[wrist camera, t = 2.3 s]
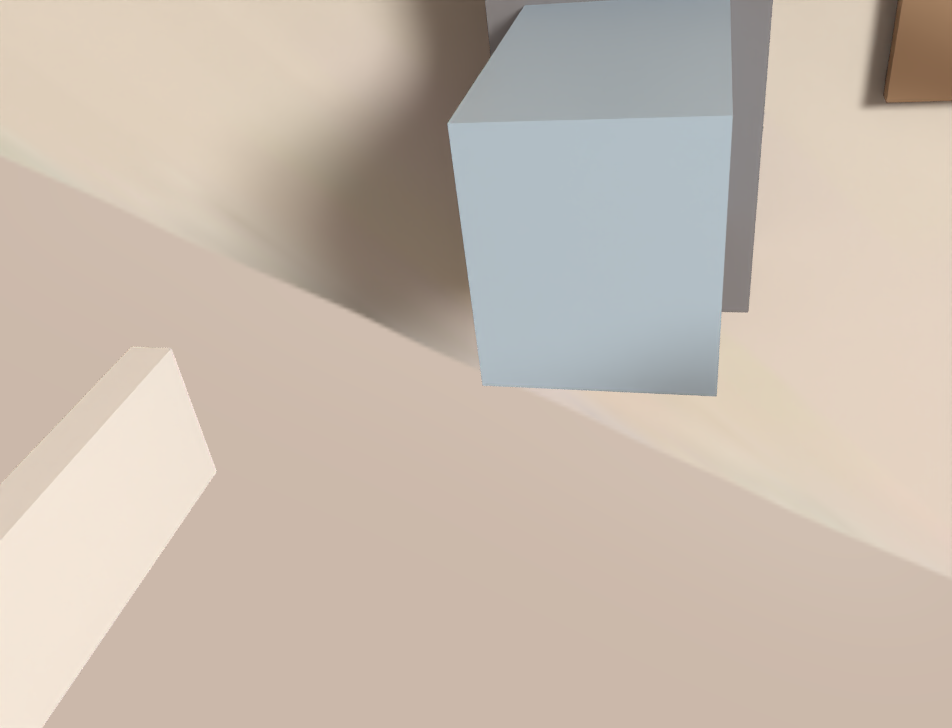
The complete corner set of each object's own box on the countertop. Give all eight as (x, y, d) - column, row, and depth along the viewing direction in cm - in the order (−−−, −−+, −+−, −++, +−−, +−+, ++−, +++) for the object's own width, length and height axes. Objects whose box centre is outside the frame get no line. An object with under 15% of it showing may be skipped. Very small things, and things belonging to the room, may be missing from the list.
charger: (539, -18, 24) (447, 123, 16) (729, -30, 23) (732, 115, 15) (552, 188, 28) (483, 387, 20) (718, 186, 26) (716, 399, 18)
